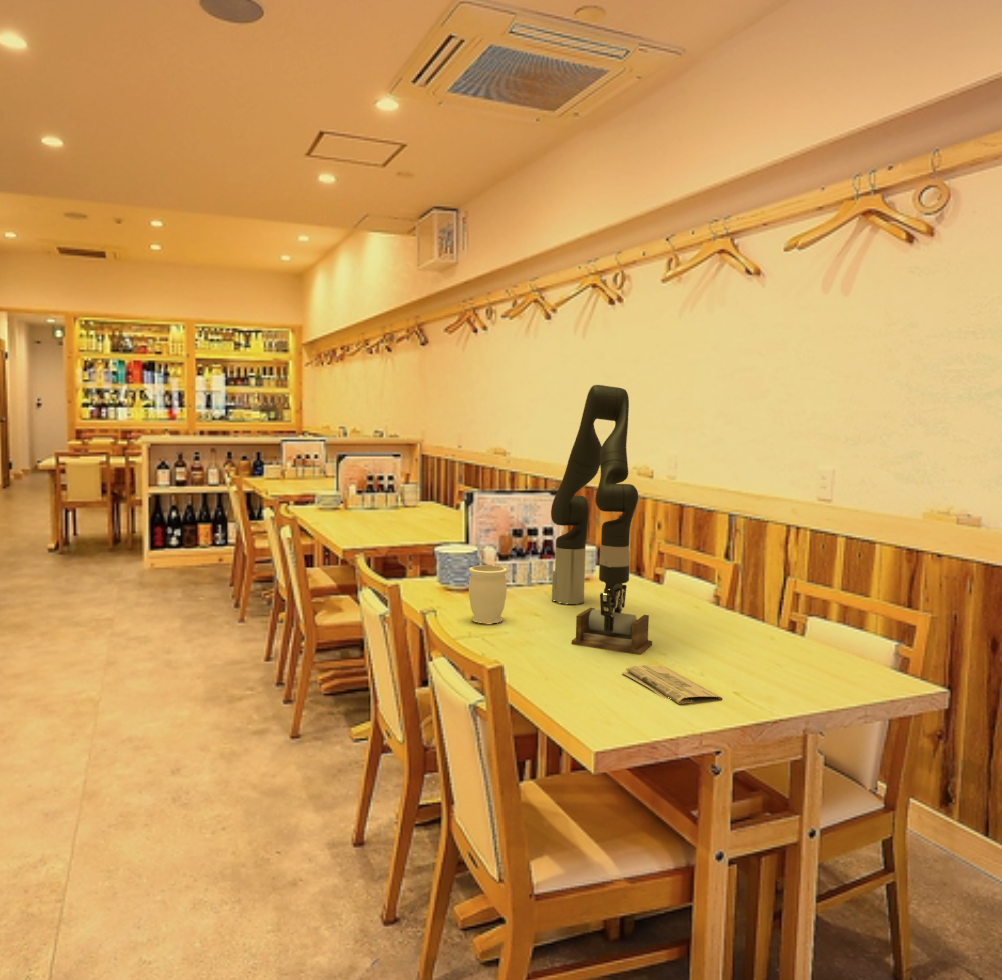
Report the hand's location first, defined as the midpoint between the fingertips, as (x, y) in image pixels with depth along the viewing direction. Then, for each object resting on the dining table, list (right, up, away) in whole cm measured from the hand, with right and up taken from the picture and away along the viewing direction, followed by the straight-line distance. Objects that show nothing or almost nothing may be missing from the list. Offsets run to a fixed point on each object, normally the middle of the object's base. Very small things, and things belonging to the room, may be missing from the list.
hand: (612, 628), depth 203 cm
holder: (0, -4, 0) cm, 4 cm away
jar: (-32, -2, +21) cm, 38 cm away
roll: (0, -1, 0) cm, 1 cm away
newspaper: (+8, -8, -31) cm, 33 cm away
